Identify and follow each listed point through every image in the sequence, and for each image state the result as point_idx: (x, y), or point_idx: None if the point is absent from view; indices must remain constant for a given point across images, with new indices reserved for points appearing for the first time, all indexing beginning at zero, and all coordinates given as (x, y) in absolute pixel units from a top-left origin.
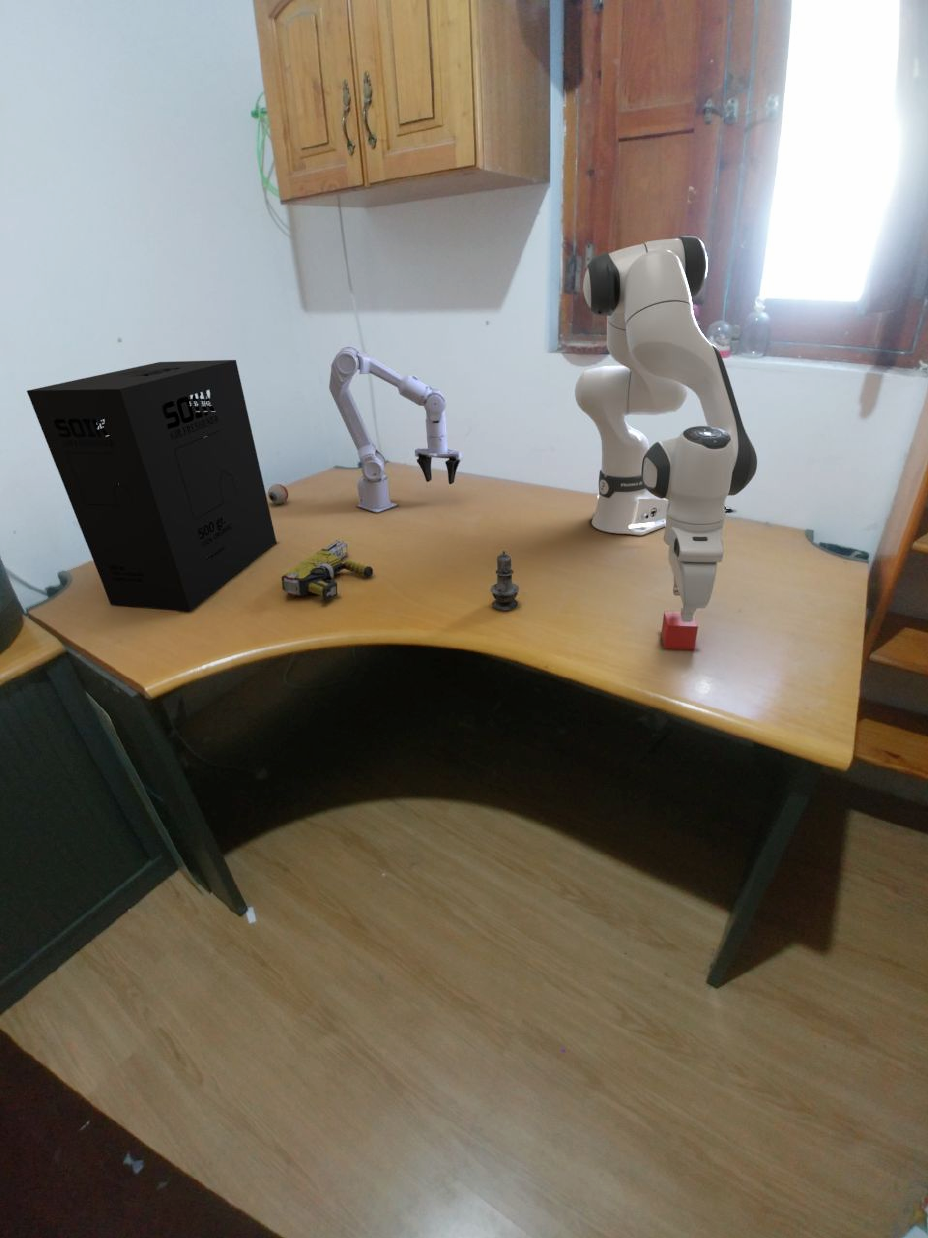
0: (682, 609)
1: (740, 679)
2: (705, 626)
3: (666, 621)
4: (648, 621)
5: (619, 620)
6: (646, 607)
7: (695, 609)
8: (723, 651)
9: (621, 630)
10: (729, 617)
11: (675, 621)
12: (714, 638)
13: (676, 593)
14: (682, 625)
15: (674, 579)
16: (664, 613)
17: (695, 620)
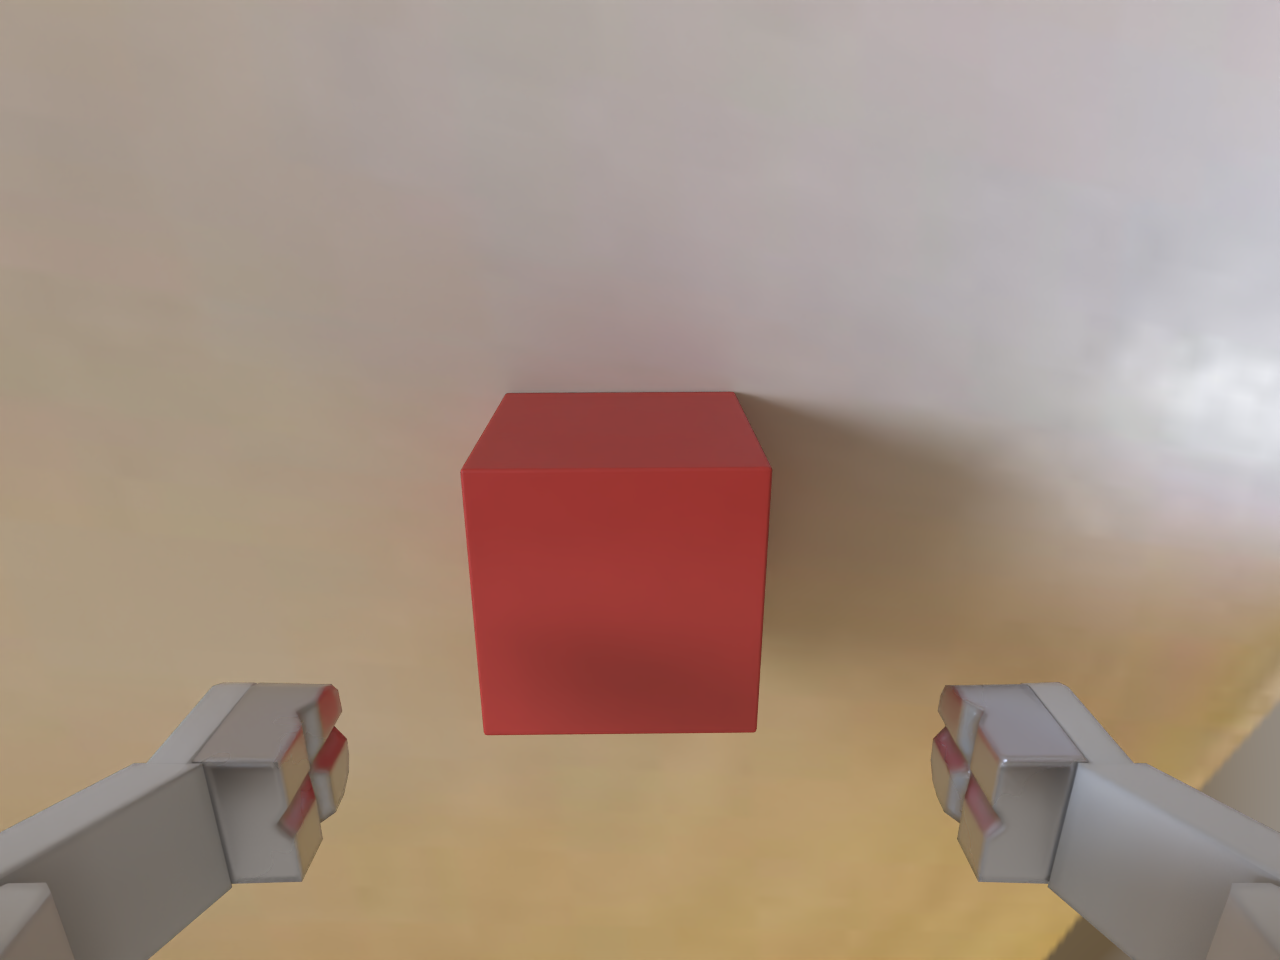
0: (1088, 911)
1: (1195, 83)
2: (319, 227)
3: (669, 730)
4: (335, 668)
5: (363, 841)
6: (103, 665)
7: (1253, 826)
8: (752, 141)
9: (503, 835)
10: None
11: (677, 663)
12: (531, 182)
13: (339, 776)
14: (757, 613)
15: (154, 950)
16: (511, 732)
17: (639, 473)
